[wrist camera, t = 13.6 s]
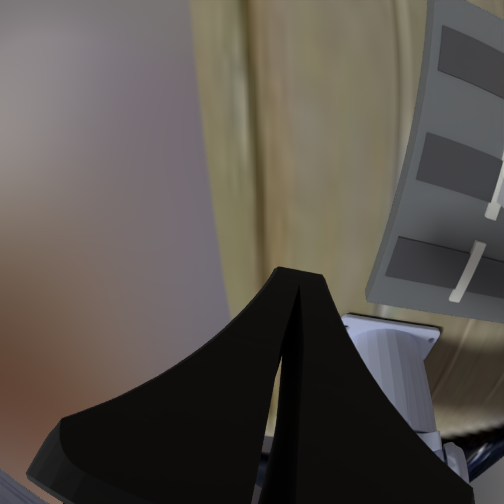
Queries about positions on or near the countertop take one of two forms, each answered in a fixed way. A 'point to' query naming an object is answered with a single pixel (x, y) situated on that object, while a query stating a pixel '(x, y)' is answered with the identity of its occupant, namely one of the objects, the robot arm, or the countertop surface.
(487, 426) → the countertop surface
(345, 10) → the countertop surface
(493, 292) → the control board
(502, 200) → the cube with peg
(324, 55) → the countertop surface
